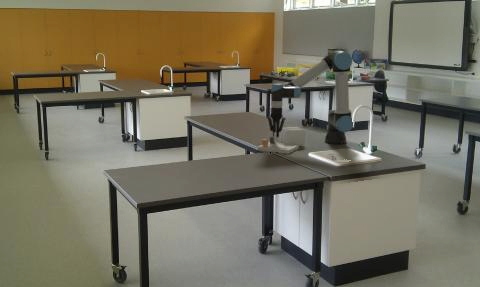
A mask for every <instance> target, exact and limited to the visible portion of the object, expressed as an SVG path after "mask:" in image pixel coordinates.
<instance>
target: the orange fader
mask: <svg viewBox="0 0 480 287" xmlns="http://www.w3.org/2000/svg"><path fill="white" fill-rule="evenodd" d="M261 142H262V144H261V145H262V146H268V142H269V139H266V138H264V139H262V140H261Z"/></svg>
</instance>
